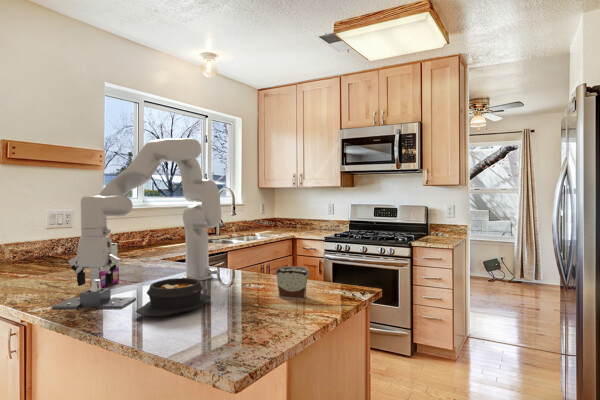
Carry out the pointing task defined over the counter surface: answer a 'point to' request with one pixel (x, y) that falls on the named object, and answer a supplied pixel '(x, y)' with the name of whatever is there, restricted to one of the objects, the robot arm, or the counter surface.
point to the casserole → (174, 297)
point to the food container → (292, 281)
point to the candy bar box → (100, 272)
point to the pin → (95, 285)
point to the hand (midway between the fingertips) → (95, 284)
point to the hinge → (95, 300)
